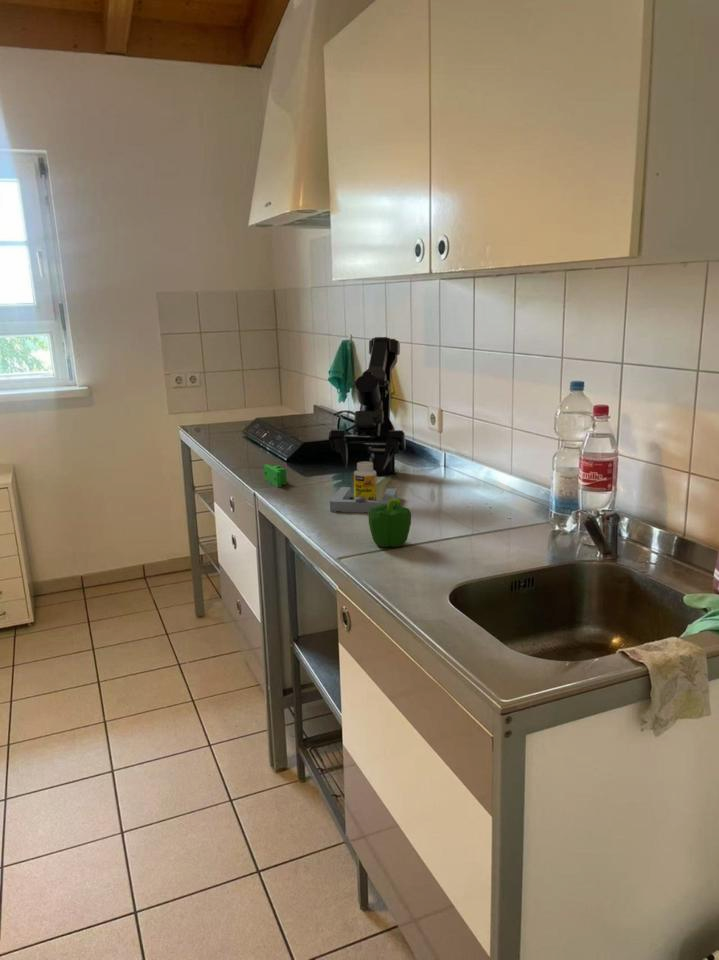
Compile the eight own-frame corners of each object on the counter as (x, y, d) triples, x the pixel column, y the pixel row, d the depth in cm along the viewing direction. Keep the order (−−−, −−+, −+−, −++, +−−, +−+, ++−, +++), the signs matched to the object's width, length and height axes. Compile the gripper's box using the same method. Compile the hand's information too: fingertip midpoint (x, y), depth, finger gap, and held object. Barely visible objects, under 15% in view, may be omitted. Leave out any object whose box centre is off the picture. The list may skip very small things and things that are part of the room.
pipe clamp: (290, 487, 199) (289, 470, 197) (277, 488, 197) (276, 472, 196) (276, 478, 208) (276, 462, 207) (264, 480, 207) (263, 464, 206)
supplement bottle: (352, 505, 178) (351, 464, 175) (356, 500, 183) (355, 460, 181) (374, 506, 177) (374, 465, 174) (378, 500, 182) (378, 461, 180)
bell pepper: (361, 542, 150) (361, 495, 148) (395, 536, 154) (395, 490, 152) (382, 554, 143) (382, 505, 141) (417, 546, 147) (417, 499, 145)
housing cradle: (341, 496, 187) (340, 484, 186) (397, 498, 184) (397, 485, 184) (330, 511, 173) (329, 498, 172) (390, 513, 171) (390, 500, 170)
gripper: (329, 397, 179) (320, 449, 171) (404, 397, 176) (399, 451, 168) (335, 423, 188) (328, 474, 180) (407, 424, 185) (403, 476, 177)
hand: (363, 468), depth 176 cm, fingers open, 9 cm apart
